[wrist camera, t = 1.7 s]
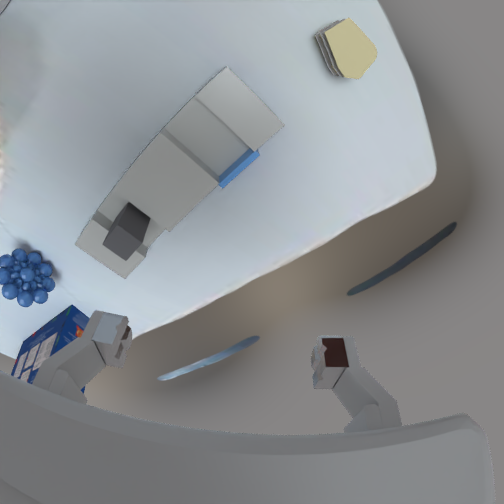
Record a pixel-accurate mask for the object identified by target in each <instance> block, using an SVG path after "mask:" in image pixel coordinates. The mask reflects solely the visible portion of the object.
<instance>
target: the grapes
mask: <svg viewBox="0 0 504 504" xmlns="http://www.w3.org/2000/svg"><path fill="white" fill-rule="evenodd" d="M0 267H1V268H0V284H1V285H3V287H2V294H3V296H4V297H5V298H7V299H9V300H11V299H14V298H16V297H17V301H18V303H19V305H21V306H23V307H29V306H30V305H32V303H33V301H35V302H36V303H39V304H43V303H44V302H46V301H47V299H48V293H47V292H51V291H52V290H53V289H54V287H55V282H54V280H53V279H52V278H50V277H49V276H51V274H52V268H51V266H50V265H49V264H47V263H42V264H41V257H40V255H39V254H38V253H36V252H31V253H30V254H28V255H27V254H26V252H25V251H24V250H23V249H15V250H14V251H13V252H12V256H10V255H9V254H6V255H3V256H1V257H0Z"/></svg>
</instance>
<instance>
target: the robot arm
mask: <svg viewBox="0 0 504 504" xmlns="http://www.w3.org/2000/svg"><path fill="white" fill-rule="evenodd" d="M9 1H10V0H0V13H1V12H2V11H3V10H4V8H5V7H6V6H7V4H8V3H9ZM128 322H129V321H128V318H127V316H122V315H117V314H112V313H107V312H102V311H97V310H96V311H94V312H93V314H92V316H91V318H90V320H89V322H88V324H87V326H86V328H85V330H84V332H83V334H82V336H81V338H79V337H78V338H76V339H75V340H73V341H72V342H70V343H69V344H68V345H66V346H65V347H63V348H62V349H60V350H59V351H58V352H56V353H55V354H53V355H52V356H50V357H49V358H48V359H46V360H45V361H43V362H42V364H41V366H40V368H39V370H38V372H37V374H36V377H35V379H34V381H33V383H32V384H30V383H27V382H25V381H23V380H20V379H18V378H16V377H14V376H11V375H9V374H7V373H5V372H3V371H1V370H0V504H495V484H494V473H493V466H492V459H491V453H490V448H489V443H488V439H487V436H486V433H485V431H484V429H483V428H482V427H481V426H480V425H479V424H478V423H477V422H476V421H475V420H474V419H472V418H471V417H470V416H469V415H468V414H466V413H459V414H455V415H452V416H447V417H443V418H439V419H435V420H431V421H426V422H420V423H415V424H410V425H404V426H402V423H401V418H400V413H399V410H398V405H397V401H396V400H395V399H394V398H393V397H392V396H391V395H390V394H389V393H388V392H387V391H386V390H385V389H384V387H383V386H382V385H381V384H380V383H379V382H378V381H377V380H376V379H375V378H374V377H373V376H372V375H371V374H370V373H369V372H368V371H367V370H366V369H365V368H364V367H361V364H360V360H359V356H358V351H357V347H356V343H355V339H354V338H353V336H319V337H318V338H317V345H316V346H315V347H314V348H313V351H312V356H311V364H312V365H311V366H312V368H313V369H314V370H315V372H314V374H313V385H314V389H332V391H333V392H334V393H335V395H336V396H337V397H338V399H339V400H340V402H341V403H342V404H343V406H344V407H345V408H346V410H347V411H348V413H349V414H350V415H351V417H352V418H353V420H352V421H351V422H350V423H349V424H348V425H347V426H346V427H345V428H344V433H336V434H317V435H268V434H247V433H233V432H222V431H213V430H203V429H196V428H189V427H183V426H176V425H171V424H165V423H160V422H155V421H150V420H145V419H140V418H136V417H131V416H127V415H123V414H119V413H115V412H111V411H108V410H104V409H101V408H97V407H94V406H90V405H87V404H86V403H87V398H86V397H85V395H84V394H83V393H82V391H81V389H82V388H83V387H84V386H85V385H86V384H87V383H88V382H90V380H92V379H93V378H94V377H95V376H96V375H97V374H98V373H99V372H100V371H101V370H102V369H103V368H104V367H105V366H106V365H108V366H113V367H118V368H123V366H124V363H125V360H126V357H127V356H126V353H125V351H127V350H128V349H129V348H130V346H131V342H132V331H131V328H130V327H129V326H128Z"/></svg>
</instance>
